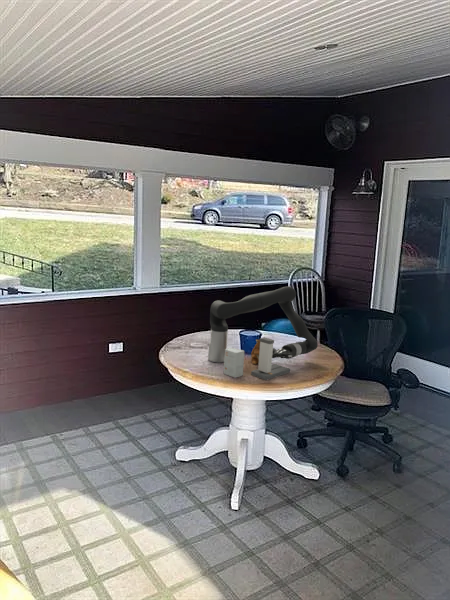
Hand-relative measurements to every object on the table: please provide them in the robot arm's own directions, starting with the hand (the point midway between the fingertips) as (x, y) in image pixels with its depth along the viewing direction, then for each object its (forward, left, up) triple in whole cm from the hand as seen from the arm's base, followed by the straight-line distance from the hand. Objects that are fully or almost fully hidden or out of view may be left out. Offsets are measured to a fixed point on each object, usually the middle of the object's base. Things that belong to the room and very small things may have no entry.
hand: (271, 356), depth 256 cm
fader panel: (0, 0, -9) cm, 10 cm away
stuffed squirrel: (-11, +18, -10) cm, 23 cm away
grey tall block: (-2, -5, -7) cm, 9 cm away
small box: (-17, -11, -10) cm, 22 cm away
